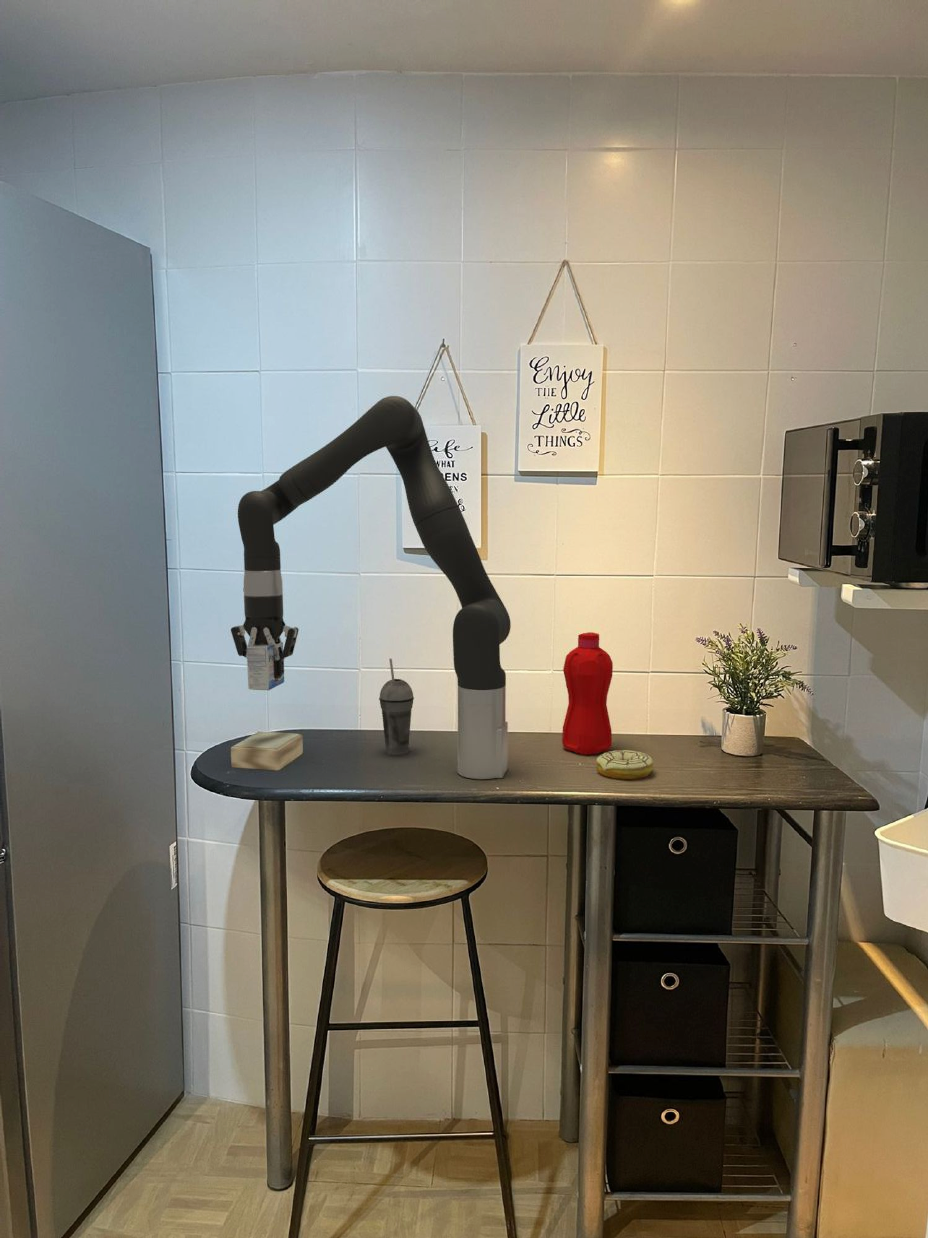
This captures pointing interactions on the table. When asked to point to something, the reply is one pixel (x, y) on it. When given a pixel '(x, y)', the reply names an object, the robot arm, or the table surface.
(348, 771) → the table surface
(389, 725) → the beverage cup
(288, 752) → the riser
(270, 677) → the medicine box
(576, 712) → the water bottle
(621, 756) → the decorated donut
